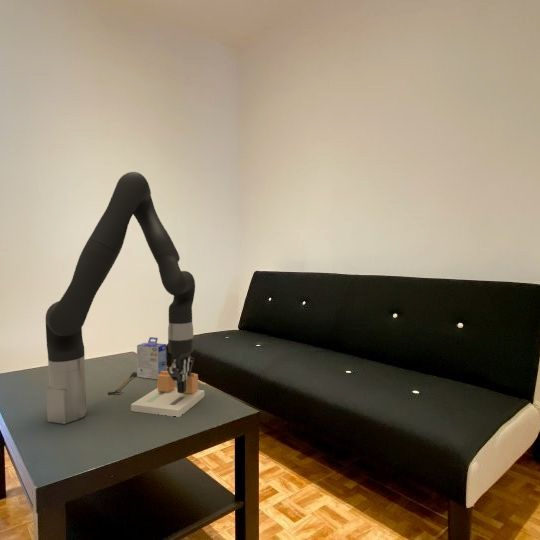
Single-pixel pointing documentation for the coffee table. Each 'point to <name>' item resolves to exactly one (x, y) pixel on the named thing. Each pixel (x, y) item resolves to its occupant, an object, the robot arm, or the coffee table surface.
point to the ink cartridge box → (151, 359)
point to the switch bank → (167, 402)
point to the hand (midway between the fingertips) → (181, 392)
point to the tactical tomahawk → (123, 384)
